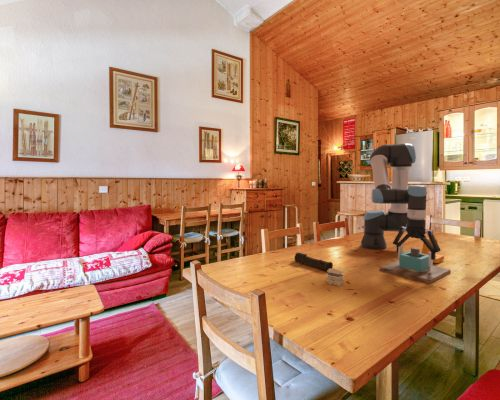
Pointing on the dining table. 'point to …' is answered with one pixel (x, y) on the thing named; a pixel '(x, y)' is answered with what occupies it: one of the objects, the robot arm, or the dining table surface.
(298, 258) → the hand tool
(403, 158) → the robot arm
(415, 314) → the dining table surface
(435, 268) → the post base
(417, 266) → the collar
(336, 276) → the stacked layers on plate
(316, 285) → the dining table surface
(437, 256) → the bracket
